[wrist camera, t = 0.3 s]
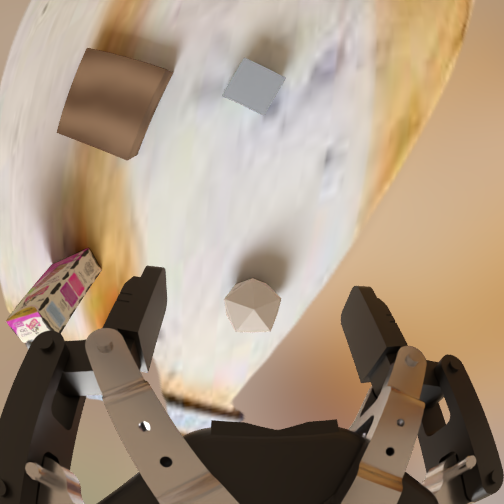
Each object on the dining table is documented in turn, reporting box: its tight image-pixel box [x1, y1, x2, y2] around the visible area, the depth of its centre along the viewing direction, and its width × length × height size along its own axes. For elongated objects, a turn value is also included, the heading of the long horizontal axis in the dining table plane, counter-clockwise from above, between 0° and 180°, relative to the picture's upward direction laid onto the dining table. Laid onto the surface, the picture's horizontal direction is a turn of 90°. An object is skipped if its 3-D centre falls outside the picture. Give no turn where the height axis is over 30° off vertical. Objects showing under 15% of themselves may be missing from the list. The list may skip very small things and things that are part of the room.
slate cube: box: [222, 58, 286, 115], centre depth 27 cm, size 5×5×5 cm
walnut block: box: [57, 48, 173, 160], centre depth 27 cm, size 12×12×4 cm
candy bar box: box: [6, 248, 102, 343], centre depth 34 cm, size 11×5×16 cm, turn 108°
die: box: [224, 278, 281, 332], centre depth 41 cm, size 8×9×10 cm
